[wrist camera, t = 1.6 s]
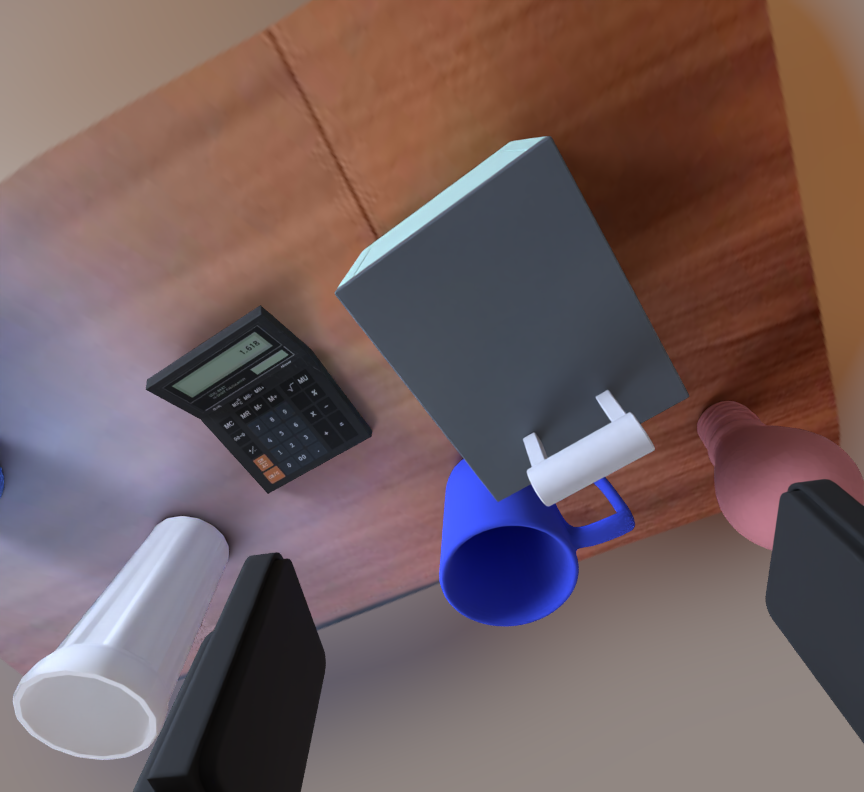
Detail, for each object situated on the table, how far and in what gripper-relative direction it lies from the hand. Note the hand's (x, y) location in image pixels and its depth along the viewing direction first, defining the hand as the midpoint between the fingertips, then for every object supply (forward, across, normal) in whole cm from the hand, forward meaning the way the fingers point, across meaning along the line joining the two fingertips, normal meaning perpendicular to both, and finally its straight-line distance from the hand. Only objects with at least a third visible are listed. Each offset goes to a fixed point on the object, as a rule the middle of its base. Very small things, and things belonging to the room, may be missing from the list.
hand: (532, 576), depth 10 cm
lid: (+16, -2, +1) cm, 16 cm away
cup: (+26, +24, +18) cm, 40 cm away
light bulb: (+26, -16, +13) cm, 33 cm away
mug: (+26, -2, +15) cm, 30 cm away
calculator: (+26, +14, +6) cm, 30 cm away
